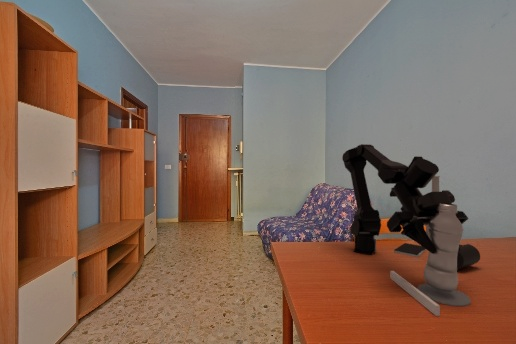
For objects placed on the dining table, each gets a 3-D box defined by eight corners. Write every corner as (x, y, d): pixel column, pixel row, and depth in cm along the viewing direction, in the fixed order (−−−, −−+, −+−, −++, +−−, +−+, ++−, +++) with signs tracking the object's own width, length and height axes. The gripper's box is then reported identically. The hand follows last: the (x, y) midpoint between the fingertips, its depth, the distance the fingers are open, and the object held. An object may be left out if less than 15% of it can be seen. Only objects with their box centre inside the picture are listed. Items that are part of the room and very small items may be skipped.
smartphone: (428, 246, 95) (418, 255, 85) (428, 250, 95) (418, 258, 85) (404, 242, 101) (392, 250, 90) (404, 245, 101) (392, 253, 90)
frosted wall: (439, 315, 49) (439, 305, 49) (435, 315, 49) (435, 305, 49) (393, 278, 67) (393, 270, 67) (390, 278, 67) (390, 270, 67)
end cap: (463, 274, 70) (463, 250, 70) (436, 266, 77) (436, 244, 77) (480, 268, 75) (480, 246, 75) (453, 261, 81) (453, 240, 81)
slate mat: (416, 297, 57) (416, 295, 57) (417, 282, 65) (417, 280, 65) (473, 311, 51) (473, 309, 51) (467, 292, 59) (467, 290, 59)
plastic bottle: (439, 281, 62) (446, 202, 61) (465, 295, 55) (473, 207, 54) (416, 281, 61) (423, 201, 60) (439, 296, 54) (447, 206, 54)
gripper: (394, 179, 61) (430, 235, 50) (461, 179, 63) (509, 233, 52) (375, 206, 69) (402, 260, 58) (435, 205, 71) (473, 257, 60)
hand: (446, 252), depth 57 cm, fingers closed on plastic bottle, 6 cm apart
